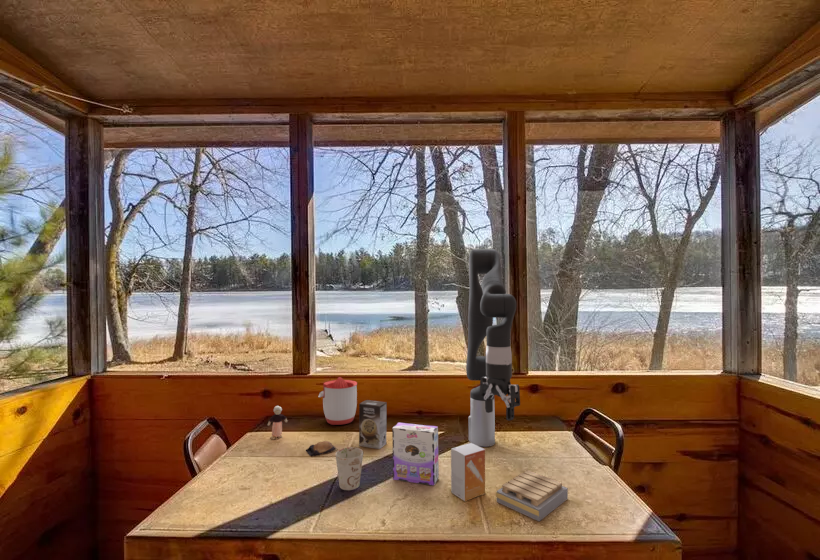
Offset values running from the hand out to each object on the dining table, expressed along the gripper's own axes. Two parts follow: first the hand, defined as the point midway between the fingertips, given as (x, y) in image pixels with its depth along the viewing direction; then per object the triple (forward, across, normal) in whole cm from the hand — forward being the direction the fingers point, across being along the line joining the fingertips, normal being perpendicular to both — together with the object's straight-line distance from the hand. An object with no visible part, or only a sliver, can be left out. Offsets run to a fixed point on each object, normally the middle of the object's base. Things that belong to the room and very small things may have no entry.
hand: (499, 416), depth 118 cm
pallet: (+19, +8, +4) cm, 21 cm away
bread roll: (+23, -58, -34) cm, 71 cm away
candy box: (+22, -20, -17) cm, 34 cm away
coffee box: (+22, -52, -16) cm, 59 cm away
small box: (+22, -4, -8) cm, 24 cm away
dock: (+22, +8, +4) cm, 24 cm away
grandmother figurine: (+22, -80, -45) cm, 94 cm away
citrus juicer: (+22, -84, -17) cm, 89 cm away
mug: (+22, -30, -36) cm, 52 cm away
